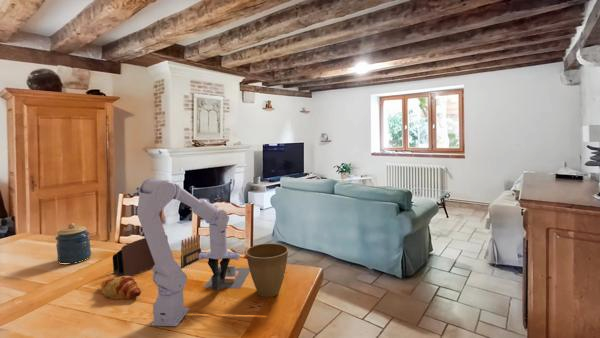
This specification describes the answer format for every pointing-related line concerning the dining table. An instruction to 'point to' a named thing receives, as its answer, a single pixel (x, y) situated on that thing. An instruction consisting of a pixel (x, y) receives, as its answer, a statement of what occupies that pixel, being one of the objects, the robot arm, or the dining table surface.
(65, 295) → the dining table surface
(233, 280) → the tile
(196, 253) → the ammunition clip
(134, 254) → the letter holder
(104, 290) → the croissant
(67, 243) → the canister
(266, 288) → the plant pot
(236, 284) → the mat
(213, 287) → the turner
